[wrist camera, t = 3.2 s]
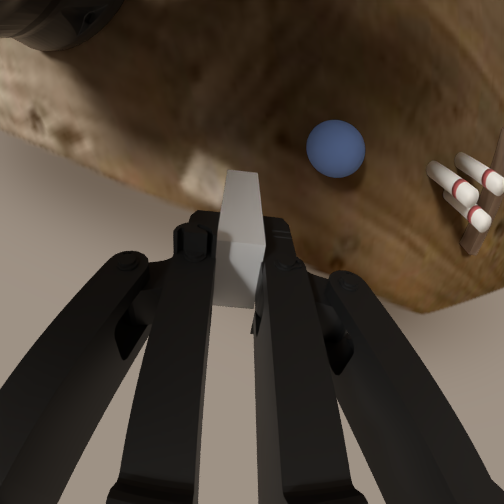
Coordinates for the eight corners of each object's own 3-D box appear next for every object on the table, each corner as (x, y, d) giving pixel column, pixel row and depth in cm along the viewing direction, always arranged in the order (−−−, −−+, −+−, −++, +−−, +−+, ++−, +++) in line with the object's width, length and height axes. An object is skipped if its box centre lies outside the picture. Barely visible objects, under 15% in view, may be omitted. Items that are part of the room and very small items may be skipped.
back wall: (459, 243, 38) (468, 254, 36) (502, 127, 27) (515, 133, 25) (466, 244, 38) (476, 255, 36) (509, 131, 27) (522, 138, 25)
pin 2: (440, 198, 34) (474, 231, 27) (446, 182, 33) (483, 212, 26) (452, 202, 34) (486, 234, 27) (458, 186, 33) (494, 216, 26)
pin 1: (451, 166, 31) (490, 193, 24) (457, 149, 30) (498, 174, 23) (463, 170, 31) (501, 198, 24) (468, 154, 30) (508, 179, 23)
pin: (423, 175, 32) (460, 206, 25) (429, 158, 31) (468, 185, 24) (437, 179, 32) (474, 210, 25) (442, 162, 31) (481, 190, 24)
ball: (297, 162, 32) (307, 181, 27) (307, 110, 28) (320, 119, 23) (346, 170, 32) (364, 191, 27) (358, 122, 29) (381, 134, 24)
